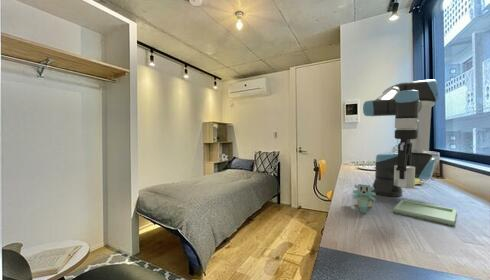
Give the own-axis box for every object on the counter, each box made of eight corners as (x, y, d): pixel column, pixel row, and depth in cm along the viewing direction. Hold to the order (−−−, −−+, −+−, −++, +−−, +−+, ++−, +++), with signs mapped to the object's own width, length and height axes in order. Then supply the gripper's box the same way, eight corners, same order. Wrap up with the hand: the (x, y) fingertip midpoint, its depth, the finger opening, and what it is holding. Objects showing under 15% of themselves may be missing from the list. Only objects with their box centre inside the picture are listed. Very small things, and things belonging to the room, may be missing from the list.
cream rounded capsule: (391, 185, 93) (392, 166, 92) (396, 182, 97) (396, 164, 97) (412, 189, 88) (413, 168, 87) (416, 185, 92) (416, 166, 92)
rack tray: (393, 212, 101) (393, 208, 101) (401, 203, 113) (401, 199, 113) (454, 226, 87) (454, 221, 86) (456, 213, 98) (456, 209, 98)
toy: (356, 212, 99) (349, 179, 105) (357, 216, 110) (350, 185, 116) (383, 211, 95) (374, 176, 101) (380, 214, 106) (372, 183, 112)
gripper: (412, 130, 81) (410, 192, 83) (421, 128, 95) (419, 181, 97) (388, 129, 87) (387, 188, 88) (400, 128, 100) (398, 178, 102)
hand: (404, 184), depth 92 cm, fingers closed on cream rounded capsule, 7 cm apart
